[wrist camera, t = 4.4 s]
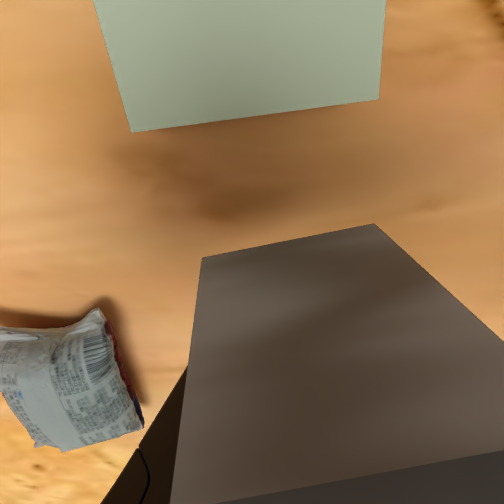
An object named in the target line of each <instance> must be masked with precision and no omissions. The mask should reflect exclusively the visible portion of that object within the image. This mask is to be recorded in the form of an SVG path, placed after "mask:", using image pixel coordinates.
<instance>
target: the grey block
mask: <svg viewBox="0 0 504 504" xmlns="http://www.w3.org/2000/svg"><path fill="white" fill-rule="evenodd" d="M170 504H504V341H502V340H501V339H500V338H499V337H498V336H497V335H496V334H495V333H494V332H493V331H492V330H490V329H489V328H488V327H487V326H486V325H485V324H484V323H483V322H482V321H481V320H479V319H478V318H477V317H476V316H475V315H474V314H473V313H472V312H471V311H470V310H469V309H467V308H466V307H465V306H464V305H463V304H462V303H461V302H460V301H459V300H458V299H456V298H455V297H454V296H453V295H452V294H451V293H450V292H449V291H448V290H447V289H445V288H444V287H443V286H442V285H441V284H440V283H439V282H438V281H437V280H436V279H435V278H433V277H432V276H431V275H430V274H429V273H428V272H427V271H426V270H425V269H424V268H422V267H421V266H420V265H419V264H418V263H417V262H416V261H415V260H414V259H413V258H412V257H410V256H409V255H408V254H407V253H406V252H405V251H404V250H403V249H402V248H401V247H399V246H398V245H397V244H396V243H395V242H394V241H393V240H392V239H391V238H390V237H388V236H387V235H386V234H385V233H384V232H383V231H382V230H381V229H380V228H379V227H378V226H376V225H375V224H369V225H364V226H359V227H354V228H349V229H344V230H339V231H334V232H329V233H324V234H319V235H314V236H309V237H304V238H299V239H294V240H289V241H284V242H278V243H273V244H268V245H263V246H258V247H253V248H248V249H243V250H238V251H233V252H228V253H223V254H218V255H213V256H208V257H203V258H202V261H201V269H200V277H199V284H198V292H197V300H196V307H195V315H194V323H193V330H192V338H191V346H190V353H189V361H188V369H187V376H186V384H185V392H184V399H183V407H182V414H181V422H180V430H179V437H178V445H177V453H176V460H175V468H174V476H173V483H172V491H171V499H170Z"/></svg>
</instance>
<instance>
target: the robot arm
mask: <svg viewBox="0 0 504 504" xmlns="http://www.w3.org/2000/svg"><path fill="white" fill-rule="evenodd" d="M187 369H188V366H187V367H186V369H185V371H184V372H183V374H182V375H181V377H180V379H179V380H178V382H177V384H176V385H175V387H174V388H173V390H172V392H171V393H170V395H169V397H168V398H167V400H166V401H165V403H164V405H163V406H162V408H161V410H160V411H159V413H158V414H157V416H156V418H155V419H154V421H153V423H152V424H151V426H150V427H149V429H148V431H147V432H146V434H145V436H144V437H143V439H142V440H141V442H140V444H139V446H138V447H139V448H137V449H136V450H135V452H134V453H133V455H132V456H131V458H130V460H129V461H128V463H127V465H126V466H125V468H124V469H123V471H122V472H121V474H120V475H119V477H118V478H117V480H116V482H115V483H114V485H113V486H112V488H111V489H110V491H109V492H108V493H107V495H106V496H105V498H104V499H103V501H102V502H101V503H100V504H170V499H171V491H172V483H173V476H174V468H175V460H176V453H177V445H178V437H179V430H180V422H181V414H182V407H183V399H184V392H185V384H186V376H187Z"/></svg>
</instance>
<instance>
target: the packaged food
mask: <svg viewBox="0 0 504 504" xmlns="http://www.w3.org/2000/svg"><path fill="white" fill-rule="evenodd" d="M0 392H2V394H3V396H4V398H5V400H6V402H7V404H8V405H9V407H10V409H11V410H12V411H13V413H14V414H15V415H16V417H17V418H18V419H19V421H20V422H21V423H22V425H23V426H24V427H25V428H26V429H27V431H28V433H29V435H30V437H31V438H32V439H33V440H34V441H35V444H34V447H35V448H38V447H41V446H44V445H48V446H52V447H56V448H59V449H60V450H61V453H62V452H66V451H70V450H74V449H77V448H81V447H84V446H88V445H92V444H96V443H99V442H103V441H106V440H110V439H114V438H118V437H120V436H122V435H124V434H127V433H131V432H134V431H139V430H141V429H143V428H144V418H143V416H142V411H141V408H140V404H139V402H138V399H137V397H136V394H135V392H134V389H133V387H132V385H131V384H130V380H129V378H128V376H127V374H126V372H125V371H124V369H123V361H122V359H121V356H120V352H119V350H118V345H117V341H116V339H115V337H114V331H113V329H112V325H111V323H110V322H109V320H107V319H106V318H105V316H104V315H103V313H102V311H101V310H100V309H99V308H96V309H92V310H91V311H90V312H89V313H88V314H87V315H86V316H85V317H84V318H83V319H82V320H81V321H79V322H77V323H75V324H72V325H69V326H66V327H60V328H14V327H4V326H0Z"/></svg>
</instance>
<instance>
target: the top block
mask: <svg viewBox="0 0 504 504" xmlns="http://www.w3.org/2000/svg"><path fill="white" fill-rule="evenodd" d="M93 2H94V6H95V9H96V13H97V16H98V20H99V23H100V27H101V30H102V33H103V37H104V40H105V44H106V47H107V51H108V54H109V58H110V61H111V65H112V68H113V71H114V75H115V78H116V82H117V85H118V89H119V92H120V96H121V99H122V103H123V106H124V109H125V113H126V116H127V120H128V123H129V127H130V130H131V133H133V132H141V131H148V130H156V129H163V128H170V127H178V126H185V125H193V124H200V123H208V122H215V121H222V120H230V119H237V118H245V117H252V116H260V115H267V114H274V113H282V112H289V111H297V110H304V109H311V108H319V107H326V106H334V105H341V104H349V103H356V102H363V101H371V100H378V99H379V88H380V74H381V61H382V48H383V34H384V21H385V8H386V0H93Z"/></svg>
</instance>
